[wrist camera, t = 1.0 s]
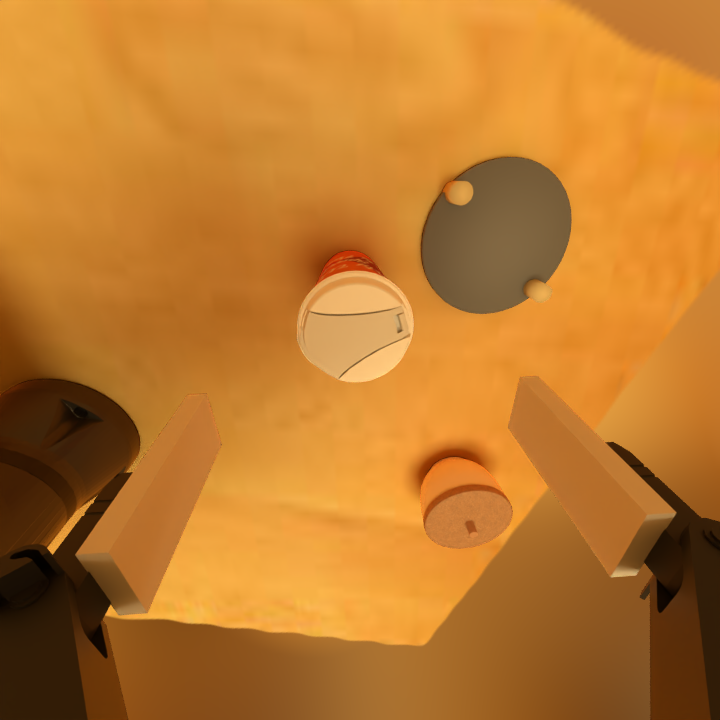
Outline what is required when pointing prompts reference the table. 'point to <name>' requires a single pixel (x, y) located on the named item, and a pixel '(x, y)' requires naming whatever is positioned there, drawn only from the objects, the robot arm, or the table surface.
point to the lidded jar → (463, 504)
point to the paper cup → (354, 320)
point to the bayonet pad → (496, 235)
